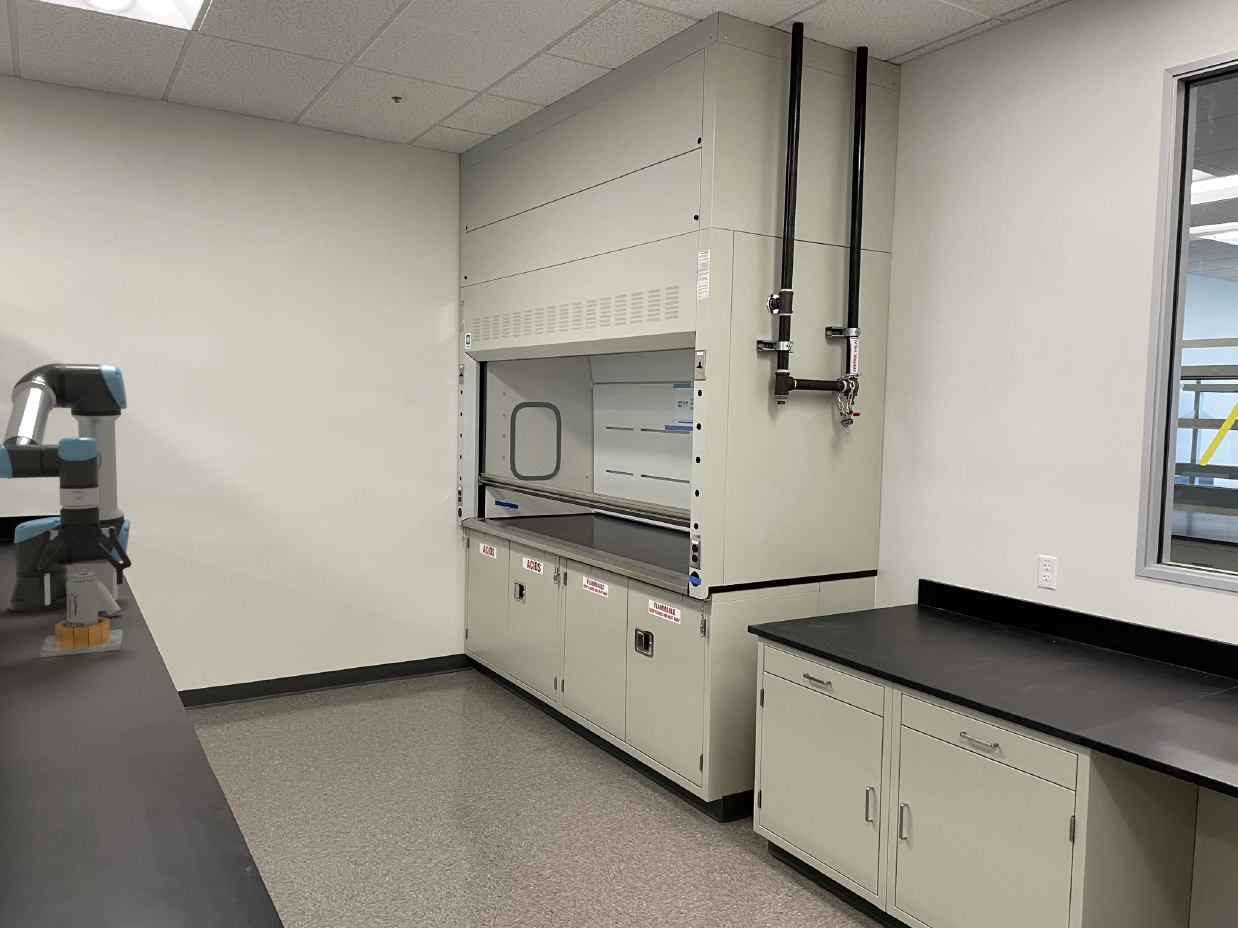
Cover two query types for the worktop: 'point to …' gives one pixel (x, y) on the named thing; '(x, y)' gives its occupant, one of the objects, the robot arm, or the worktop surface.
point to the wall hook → (106, 601)
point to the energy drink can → (82, 599)
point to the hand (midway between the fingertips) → (82, 601)
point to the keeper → (82, 639)
